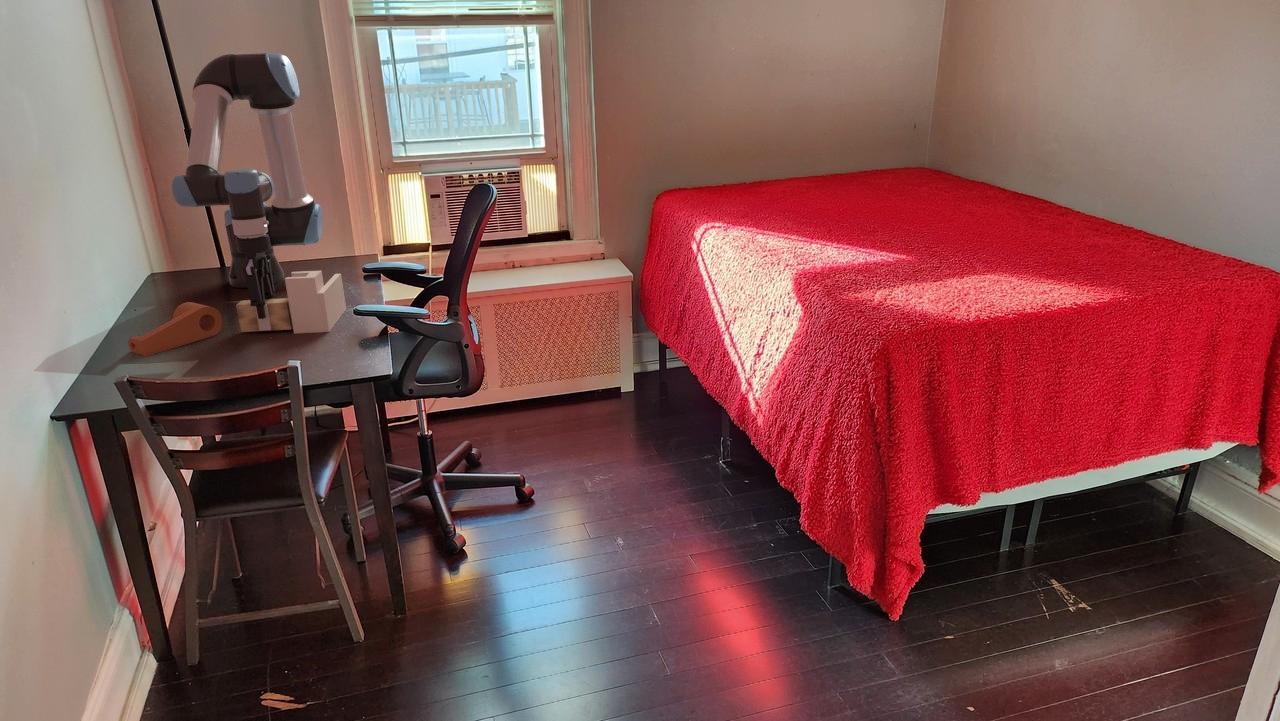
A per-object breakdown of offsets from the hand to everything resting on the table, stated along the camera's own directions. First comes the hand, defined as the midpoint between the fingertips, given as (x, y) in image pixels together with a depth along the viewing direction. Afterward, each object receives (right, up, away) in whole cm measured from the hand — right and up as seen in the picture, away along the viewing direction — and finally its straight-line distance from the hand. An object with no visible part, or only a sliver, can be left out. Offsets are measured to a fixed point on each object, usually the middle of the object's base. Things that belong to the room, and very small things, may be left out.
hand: (268, 327), depth 210 cm
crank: (-19, -4, -6) cm, 21 cm away
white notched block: (+10, +2, +7) cm, 13 cm away
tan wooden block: (+1, 0, 0) cm, 2 cm away
